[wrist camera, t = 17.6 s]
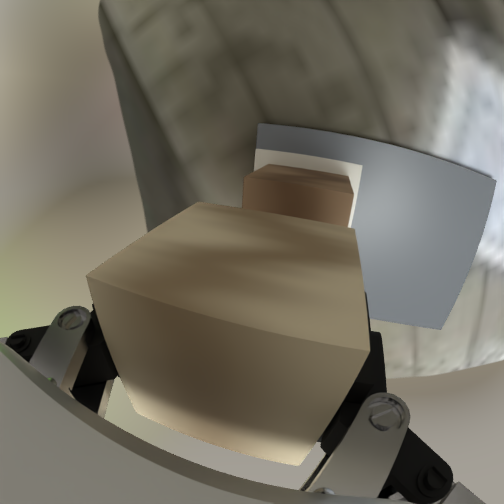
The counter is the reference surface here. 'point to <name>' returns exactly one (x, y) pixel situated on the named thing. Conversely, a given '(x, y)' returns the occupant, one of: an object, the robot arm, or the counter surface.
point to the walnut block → (299, 193)
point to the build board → (396, 217)
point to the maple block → (237, 326)
